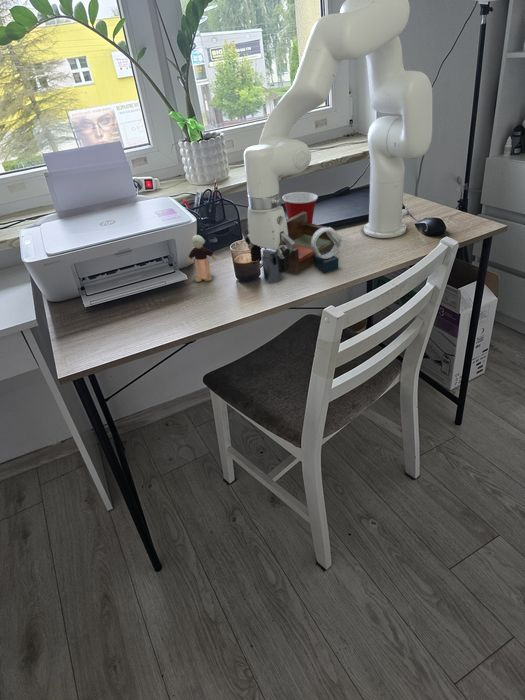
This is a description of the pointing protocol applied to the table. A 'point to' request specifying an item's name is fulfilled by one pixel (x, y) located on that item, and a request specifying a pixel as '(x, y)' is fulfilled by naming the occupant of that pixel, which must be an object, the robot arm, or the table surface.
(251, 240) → the robot arm
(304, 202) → the plastic cup
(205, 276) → the grandmother figurine
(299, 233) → the sofa
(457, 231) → the table surface
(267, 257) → the pepper pot
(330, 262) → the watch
